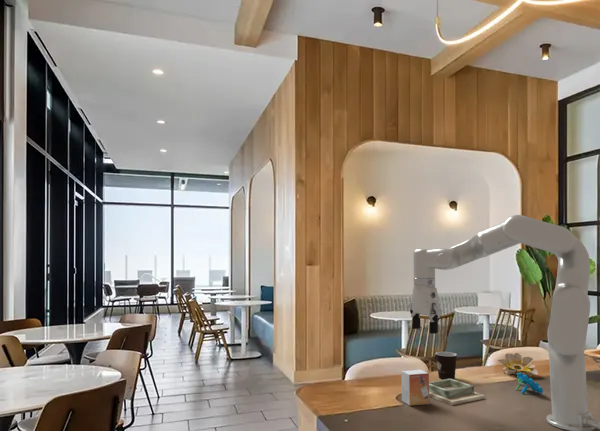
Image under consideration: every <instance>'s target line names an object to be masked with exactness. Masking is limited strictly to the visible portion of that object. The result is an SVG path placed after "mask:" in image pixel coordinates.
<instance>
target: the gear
mask: <svg viewBox="0 0 600 431" xmlns="http://www.w3.org/2000/svg"><path fill="white" fill-rule="evenodd" d="M516 378H517V384H518V385H517V387H516V388H515V390H516V391H518V390H519V389H520V387H522V390H521V391H520V394H522V395H525V392H526V391H527V390H528V389H531V390H532V391H533V392H537V393H538V394H543V393H544V388H542V386H540V384H539V383H538V382H534V379H533V378H532V377H529V376H527V375H526V374H525V373H523V374H522V373H517V374H516Z"/></svg>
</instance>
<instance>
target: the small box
mask: <svg viewBox="0 0 600 431" xmlns="http://www.w3.org/2000/svg"><path fill="white" fill-rule="evenodd" d="M400 376H401V402H403V403H404V404H406V405H408V406H418V405H419V406H420V405H430V397H429V382H430V373H429V372H427V371H425V370H422V369H415V370H401V375H400Z"/></svg>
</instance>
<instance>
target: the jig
mask: <svg viewBox="0 0 600 431" xmlns="http://www.w3.org/2000/svg"><path fill="white" fill-rule="evenodd" d="M429 398H432V399H435V400H437V401H439V402H442V403H444V404H448V405H450V406H455V405H460V404H465V403H470V402H474V401H480V400H485V395H484V394H481V393H479V392H476V391H475V385H472V384H469V383H465V382H462V381H460V380H456V379H454V380H453V379H444V380H442V379H440V380H433V381H429Z"/></svg>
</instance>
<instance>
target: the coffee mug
mask: <svg viewBox="0 0 600 431" xmlns="http://www.w3.org/2000/svg"><path fill="white" fill-rule="evenodd" d="M434 361H435V363H436V367H437V374H438V375H437V376H438V378H439V379H440V380H444V379H453V380H456V379H455V378H456V368H457V353H455V352H451V351H437V352H435V355H434Z"/></svg>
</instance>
